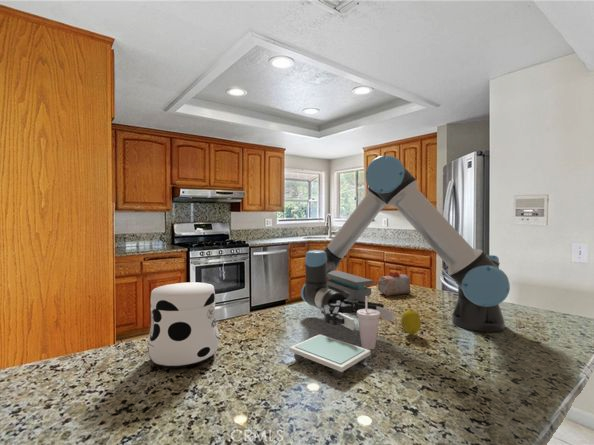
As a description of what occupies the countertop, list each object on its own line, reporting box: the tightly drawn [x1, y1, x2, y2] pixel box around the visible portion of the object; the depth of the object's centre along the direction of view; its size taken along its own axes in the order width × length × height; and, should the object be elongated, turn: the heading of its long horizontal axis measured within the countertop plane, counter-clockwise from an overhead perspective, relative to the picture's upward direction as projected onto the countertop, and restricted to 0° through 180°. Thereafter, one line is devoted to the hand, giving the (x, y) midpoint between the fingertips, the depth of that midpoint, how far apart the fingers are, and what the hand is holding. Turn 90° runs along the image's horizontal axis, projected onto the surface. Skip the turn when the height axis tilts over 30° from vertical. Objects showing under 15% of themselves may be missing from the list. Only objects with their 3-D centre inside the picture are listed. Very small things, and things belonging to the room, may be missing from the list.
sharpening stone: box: [327, 270, 374, 301], centre depth 137 cm, size 25×8×11 cm, turn 26°
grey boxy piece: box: [377, 271, 411, 297], centre depth 150 cm, size 14×8×10 cm, turn 111°
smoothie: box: [356, 296, 381, 350], centre depth 91 cm, size 6×6×14 cm
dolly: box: [288, 333, 372, 379], centre depth 82 cm, size 16×12×4 cm
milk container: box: [146, 281, 220, 369], centre depth 85 cm, size 17×17×18 cm
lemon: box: [400, 308, 422, 336], centre depth 99 cm, size 6×6×8 cm
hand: (373, 320), depth 89 cm, fingers open, 13 cm apart
